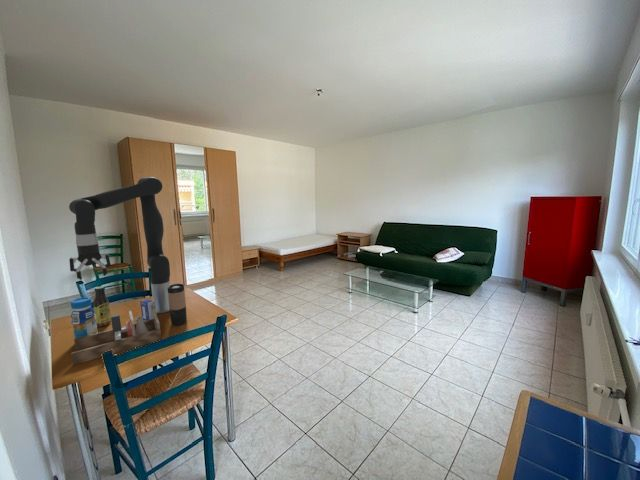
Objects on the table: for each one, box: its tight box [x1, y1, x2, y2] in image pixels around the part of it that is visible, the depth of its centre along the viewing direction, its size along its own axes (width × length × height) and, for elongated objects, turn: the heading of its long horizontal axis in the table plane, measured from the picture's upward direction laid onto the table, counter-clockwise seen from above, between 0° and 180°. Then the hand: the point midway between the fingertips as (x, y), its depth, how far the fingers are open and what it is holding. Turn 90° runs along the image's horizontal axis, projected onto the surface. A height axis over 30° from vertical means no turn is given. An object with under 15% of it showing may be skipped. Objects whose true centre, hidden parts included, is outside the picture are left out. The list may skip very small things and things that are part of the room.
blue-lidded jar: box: [70, 296, 99, 339], centre depth 121 cm, size 8×8×20 cm
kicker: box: [110, 313, 133, 341], centre depth 120 cm, size 7×14×14 cm, turn 38°
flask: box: [135, 315, 150, 335], centre depth 125 cm, size 7×7×10 cm
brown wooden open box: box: [70, 310, 163, 366], centre depth 119 cm, size 30×14×12 cm, turn 128°
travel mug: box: [167, 283, 188, 327], centre depth 139 cm, size 8×8×20 cm
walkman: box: [139, 298, 158, 321], centre depth 140 cm, size 8×3×12 cm, turn 67°
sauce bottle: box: [92, 285, 112, 327], centre depth 137 cm, size 6×6×20 cm
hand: (92, 277), depth 125 cm, fingers open, 8 cm apart
